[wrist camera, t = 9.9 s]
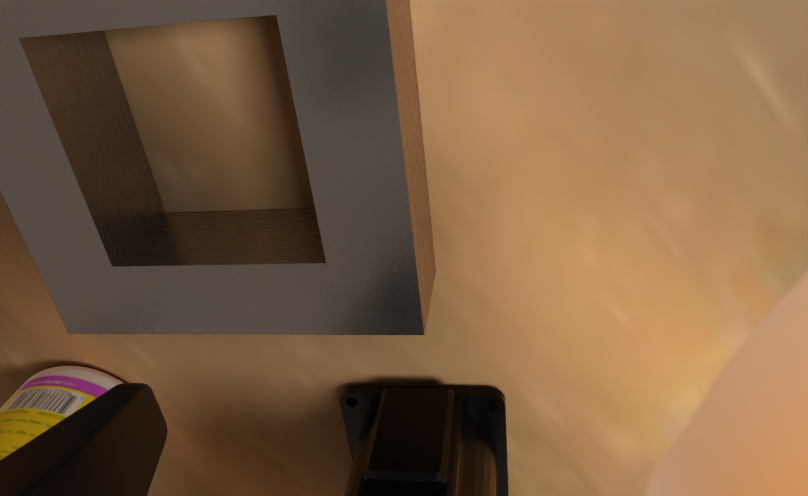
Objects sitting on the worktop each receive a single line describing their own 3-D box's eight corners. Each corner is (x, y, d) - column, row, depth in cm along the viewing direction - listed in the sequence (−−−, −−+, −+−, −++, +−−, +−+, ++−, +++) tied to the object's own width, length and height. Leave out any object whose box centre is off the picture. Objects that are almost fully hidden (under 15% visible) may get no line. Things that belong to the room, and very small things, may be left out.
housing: (435, 271, 22) (424, 334, 19) (123, 275, 24) (68, 333, 21) (396, -131, 16) (370, -131, 13) (-19, -77, 18) (-124, -67, 15)
